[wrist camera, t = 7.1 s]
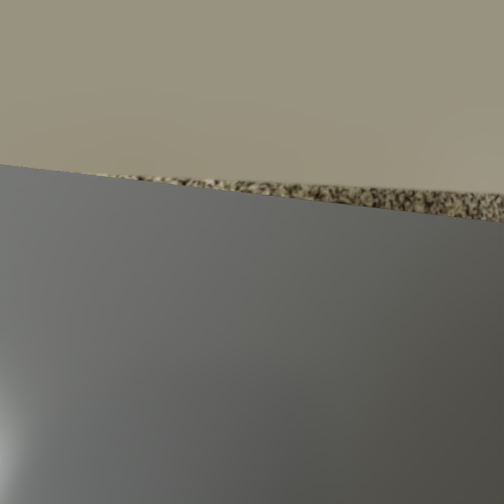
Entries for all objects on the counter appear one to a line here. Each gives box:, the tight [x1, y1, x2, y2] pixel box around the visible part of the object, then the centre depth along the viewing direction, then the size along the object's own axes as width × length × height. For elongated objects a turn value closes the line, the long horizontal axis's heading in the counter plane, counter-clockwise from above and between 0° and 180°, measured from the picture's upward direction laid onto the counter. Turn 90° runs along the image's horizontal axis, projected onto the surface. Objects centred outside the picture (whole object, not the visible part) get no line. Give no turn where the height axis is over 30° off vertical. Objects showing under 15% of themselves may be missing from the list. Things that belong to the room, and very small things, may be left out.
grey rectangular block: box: [0, 164, 504, 504], centre depth 9 cm, size 6×6×12 cm
